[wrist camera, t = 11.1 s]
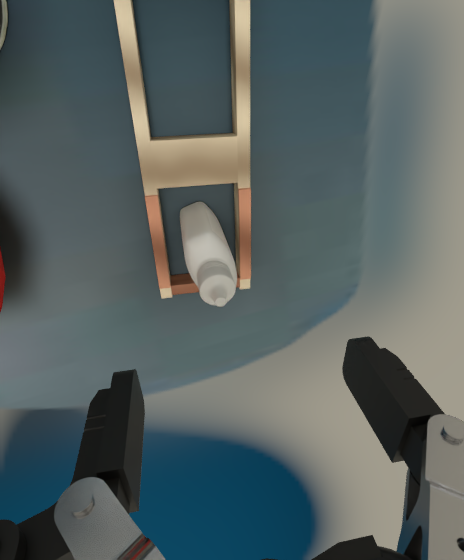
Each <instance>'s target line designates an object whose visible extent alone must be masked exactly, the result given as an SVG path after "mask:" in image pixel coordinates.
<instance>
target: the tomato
mask: <svg viewBox="0 0 464 560" xmlns="http://www.w3.org/2000/svg"><path fill="white" fill-rule="evenodd" d="M4 286H5V271H4V266H3V260H2V254H1V248H0V312H1V309H2V304H3V295H4Z"/></svg>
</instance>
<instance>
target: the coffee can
mask: <svg viewBox="0 0 464 560" xmlns="http://www.w3.org/2000/svg"><path fill="white" fill-rule="evenodd" d="M7 23H8V10H7V1H6V0H0V50H1V48H2V45H3V43H4V40H5V36H6V30H7Z"/></svg>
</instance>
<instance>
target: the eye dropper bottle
mask: <svg viewBox="0 0 464 560" xmlns="http://www.w3.org/2000/svg"><path fill="white" fill-rule="evenodd" d="M180 224H181V233H182V242H183V250H184V256H185V261H186V265H187V269H188V271H189V274H190V276H191V278H192V279H193V281H194V282H195V284H196V285H197V286H198V288H199V293H200V296H201V298H202V299H203V300H204V301H205V302H207V303H208V304H212V305H217V306H218V307H222V306H224V305H225V304H226V302H228V301H229V300H230V299H231V298H232V297H233V296H234V294H235V291H236V290H235V289H236V284H237V271H236V265H235V262H234V259H233V256H232V254H231V251H230V248H229V246H228V243H227V241H226V238H225V236H224V233H223V231H222V228H221V225H220V223H219V221H218V219H217V217H216V216H215V214H214V213H213V212H212V210H211V209H210V208H209V207H208V206H207V205H206V204H205V203H203V202H201V201H200V202H195V203H193V204H190V205H188V206H186V207H184V208H182V209H181V211H180Z"/></svg>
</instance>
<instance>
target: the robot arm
mask: <svg viewBox="0 0 464 560" xmlns="http://www.w3.org/2000/svg"><path fill="white" fill-rule="evenodd" d="M343 376H344V380H345V382H346V384H347V386H348V388H349V389H350V391H351V393H352V394H353V396H354V398H355V400H356V401H357V403H358V405H359V407H360V408H361V410H362V412H363V413H364V415H365V417H366V419H367V420H368V422H369V424H370V425H371V427H372V429H373V431H374V432H375V434H376V436H377V437H378V439H379V441H380V443H381V444H382V446H383V448H384V450H385V451H386V453H387V455H388V456H389V458H390V460H391V461H392V462H393V463H394V462H399V461H405V463H406V464H407V466H408V470H407V475H406V487H405V498H404V509H403V520H402V528H401V533H400V537H399V541H398V545H397V551H394V550H391V549H388V548H384V547H379V546H377V544H376V542H375V540H374V538H373V535H371V536H366V537H361V538H357V539H353V540H348V541H343V542H339V543H337V544H336V545H334V546H332V547H331V548H329V549H328V550H326V551H325V552H323V553H321V554H320V555H318V556H317V557H315V558H313V559H312V560H464V422H463V421H462V420H460V419H458V418H456V417H453V416H450V415H446V414H444V412H443V411H442V410H441V409H440V408H439V406H438V405H437V404H436V403H435V401H434V400H433V399H432V398H431V397H430V395H429V394H428V393H427V392H426V390H425V389H424V388H423V387H422V386H421V384H420V383H419V382H418V381H417V380H416V379H414V376H413V375H412V373H411V372H410V371H409V370H407V367H406V366H405V365H404V364H403V362H402V361H401V360H400V359H399V358H398V357H397V356H396V355H394V354H393V353H391V352H390V351H389V350H387V349H386V348H382V349H380V348H379V347H378V346H377V344H376V343H375V342H374V341H373V339H372V338H370V337H362V338H355V339H349V340H348V342H347V347H346V353H345V357H344V362H343ZM144 412H145V410H144V399H143V395H142V391H141V387H140V383H139V379H138V375H137V371H136V370H135V369H134V370H127V371H120V372H114V373H113V376H112V382H111V388H109V389H102V390H99V391H98V392H97V394H96V395H95V397H94V398H93V400H92V401H91V403H90V406H89V410H88V415H87V420H86V424H85V428H84V433H83V437H82V441H81V446H80V450H79V454H78V458H77V463H76V467H75V471H74V476H73V479H72V482H71V484H70V486H69V487H68V488H67V489H66V490H65V491H64V493H63V494H62V495H61V497H60V499H59V500H58V501H57V502H56V503H55V504H54V505H52V506H51V507H50V508H48V509H46V510H45V511H43V512H41V513H39V514H37V515H35V516H33V517H31V518H29V519H27V520H25V521H23V522H21V523H19V524H17V525H16V524H15V523H14V522H12V521H10V520H0V560H165V558H164V557H163V556H162V554H161V553H160V551H159V550H158V549H157V547H156V546H155V545H154V544H153V542H152V541H151V540H150V539H149V538H146V537H145V536H144V535H143V534H142V532H141V531H140V530H139V528H138V527H137V525H136V524H135V523H134V521H133V520H132V519H131V517H130V516H129V513H130V512H136V511H139V497H140V481H141V465H142V464H141V463H142V447H143V432H144V415H145V413H144ZM262 560H275V559H262Z"/></svg>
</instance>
